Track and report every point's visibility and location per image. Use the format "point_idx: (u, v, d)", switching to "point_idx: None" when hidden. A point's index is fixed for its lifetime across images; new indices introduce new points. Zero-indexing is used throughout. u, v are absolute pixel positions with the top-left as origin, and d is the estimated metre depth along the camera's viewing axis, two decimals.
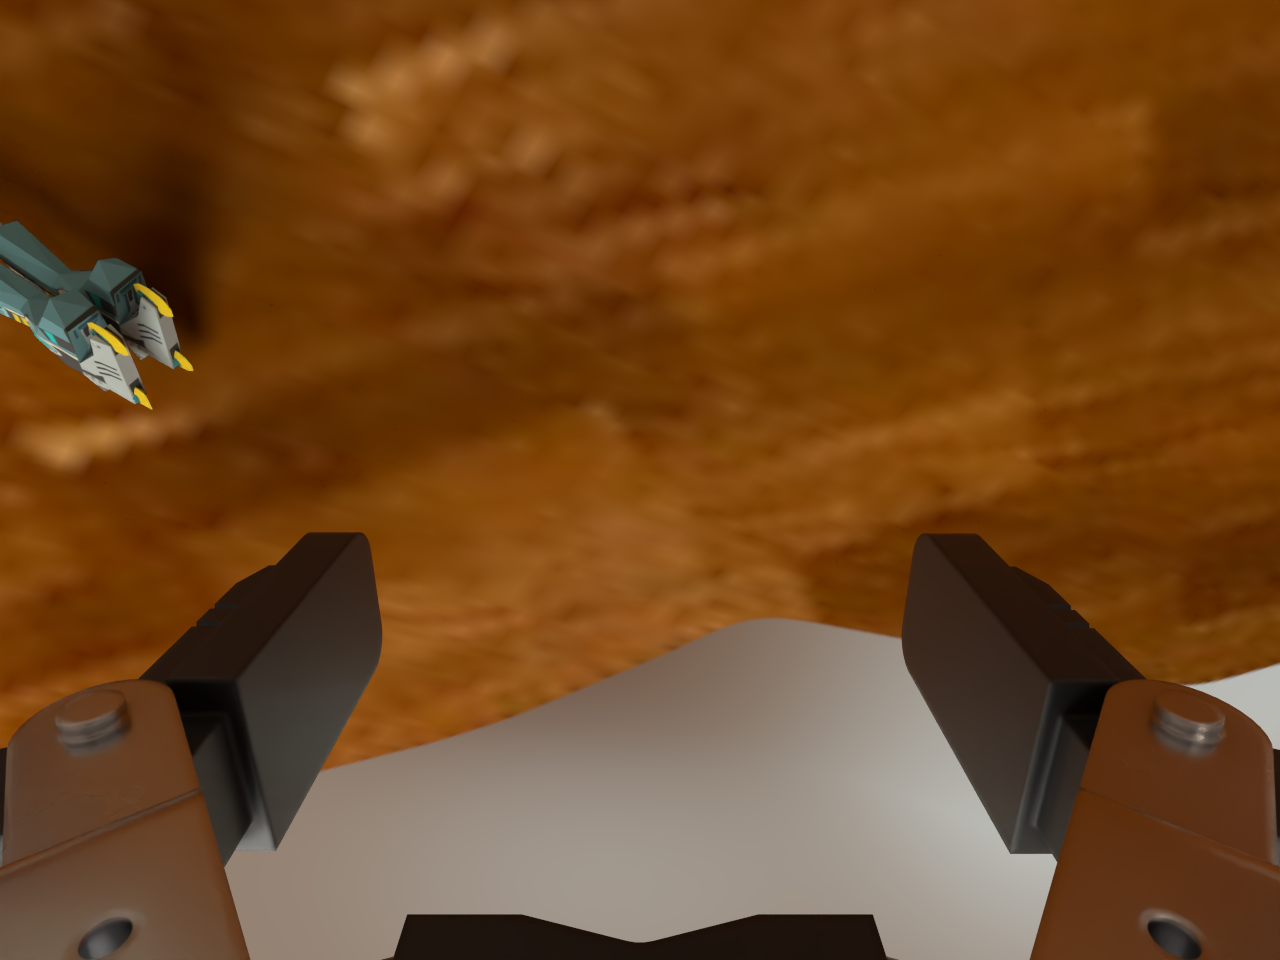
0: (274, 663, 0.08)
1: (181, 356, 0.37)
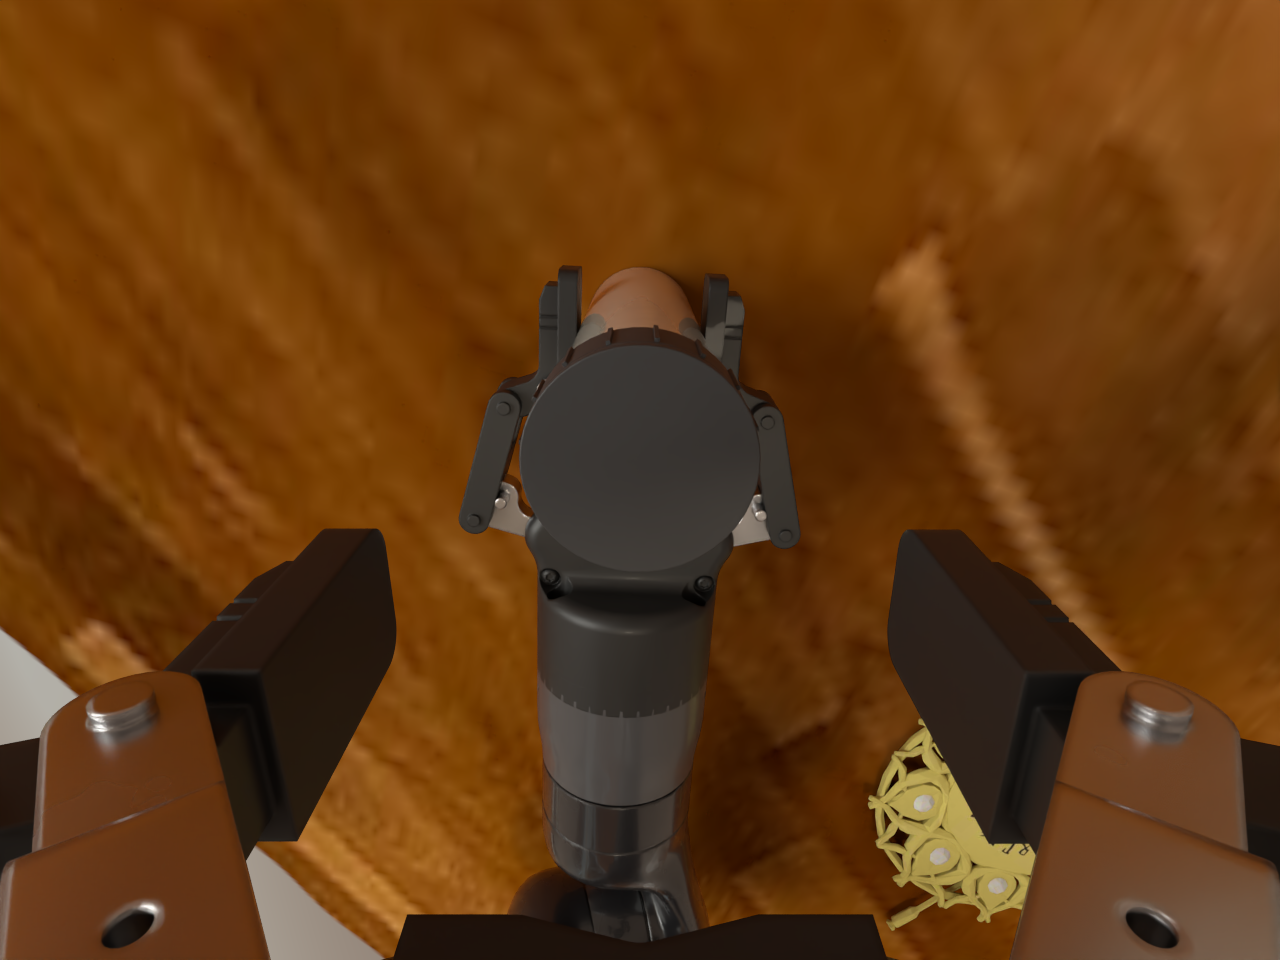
0: (296, 656, 0.08)
1: None
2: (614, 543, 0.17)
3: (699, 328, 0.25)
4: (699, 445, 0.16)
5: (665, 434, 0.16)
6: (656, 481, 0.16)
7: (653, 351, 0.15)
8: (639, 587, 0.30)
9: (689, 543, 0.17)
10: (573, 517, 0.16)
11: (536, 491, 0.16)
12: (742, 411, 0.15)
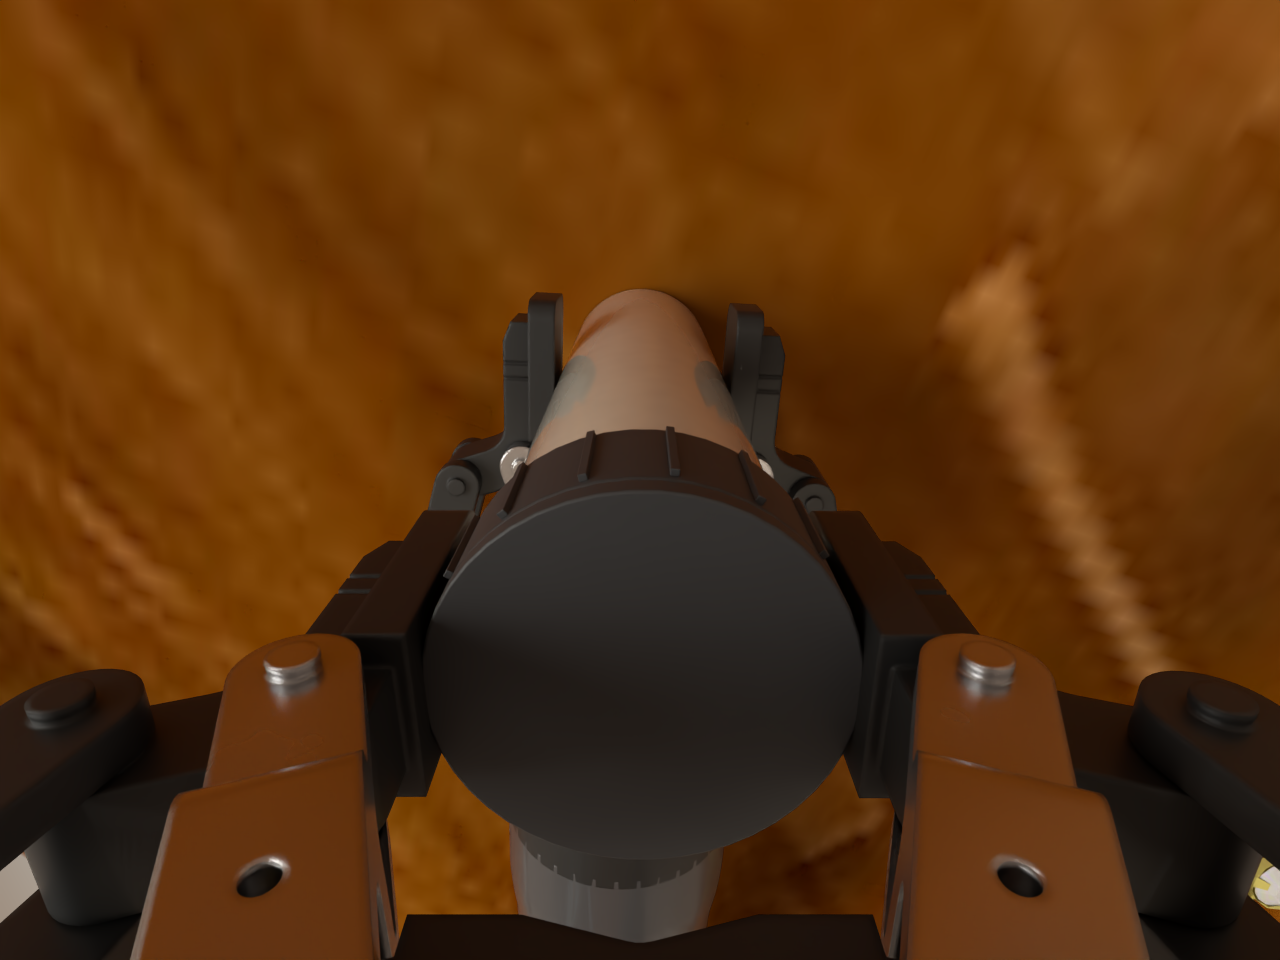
0: (425, 624, 0.09)
1: None
2: (597, 817, 0.09)
3: (725, 386, 0.17)
4: (752, 662, 0.09)
5: (690, 643, 0.08)
6: (672, 722, 0.09)
7: (669, 502, 0.08)
8: None
9: (730, 817, 0.09)
10: (523, 777, 0.09)
11: (454, 737, 0.09)
12: (835, 606, 0.08)
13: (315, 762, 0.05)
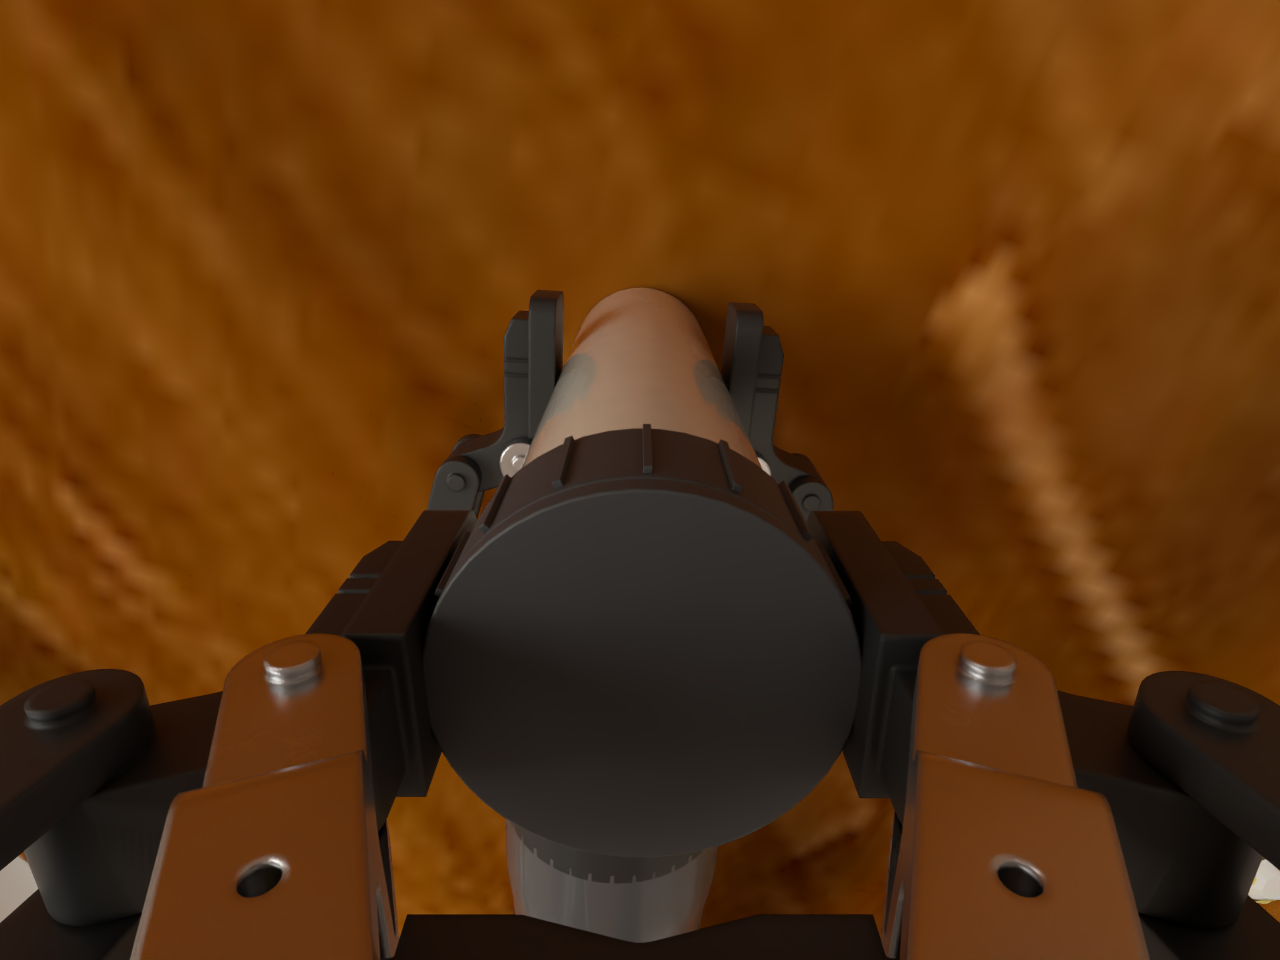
0: (425, 624, 0.09)
1: None
2: (774, 765, 0.09)
3: (724, 384, 0.18)
4: (634, 594, 0.08)
5: (595, 642, 0.08)
6: (682, 676, 0.09)
7: (439, 624, 0.08)
8: None
9: (823, 654, 0.09)
10: (702, 808, 0.09)
11: (637, 844, 0.10)
12: (588, 508, 0.08)
13: (315, 762, 0.05)
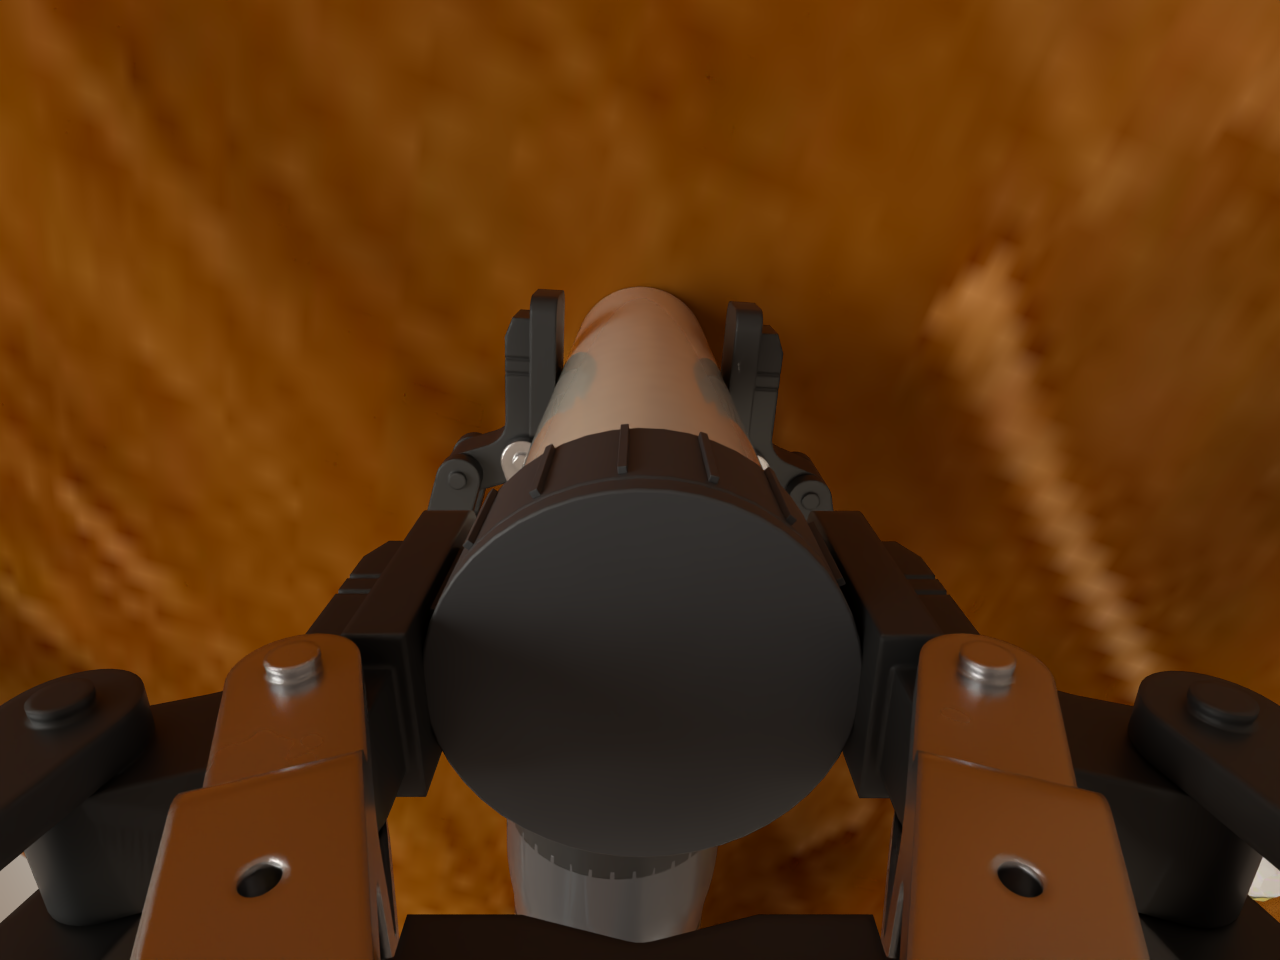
0: (425, 624, 0.09)
1: None
2: (775, 599, 0.08)
3: (724, 383, 0.18)
4: (529, 673, 0.09)
5: (571, 714, 0.09)
6: (633, 657, 0.09)
7: (519, 818, 0.09)
8: None
9: (647, 526, 0.08)
10: (805, 676, 0.09)
11: (826, 742, 0.09)
12: (432, 687, 0.09)
13: (315, 762, 0.05)
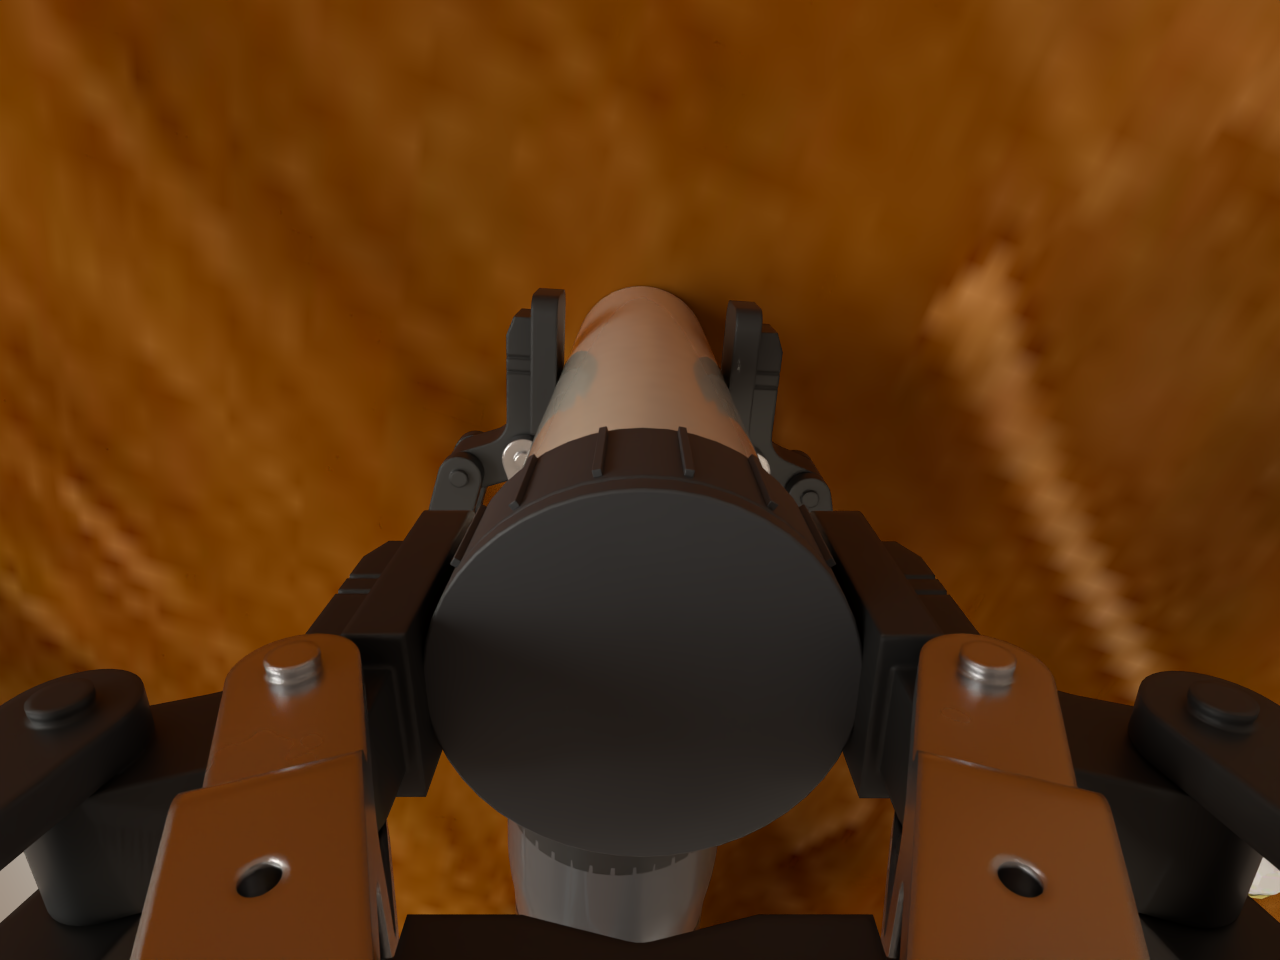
0: (425, 624, 0.09)
1: None
2: (569, 558, 0.08)
3: (724, 381, 0.18)
4: (590, 772, 0.09)
5: (648, 753, 0.09)
6: (598, 690, 0.09)
7: (754, 825, 0.09)
8: None
9: (463, 645, 0.09)
10: (670, 549, 0.08)
11: (762, 545, 0.08)
12: (581, 844, 0.10)
13: (315, 762, 0.05)
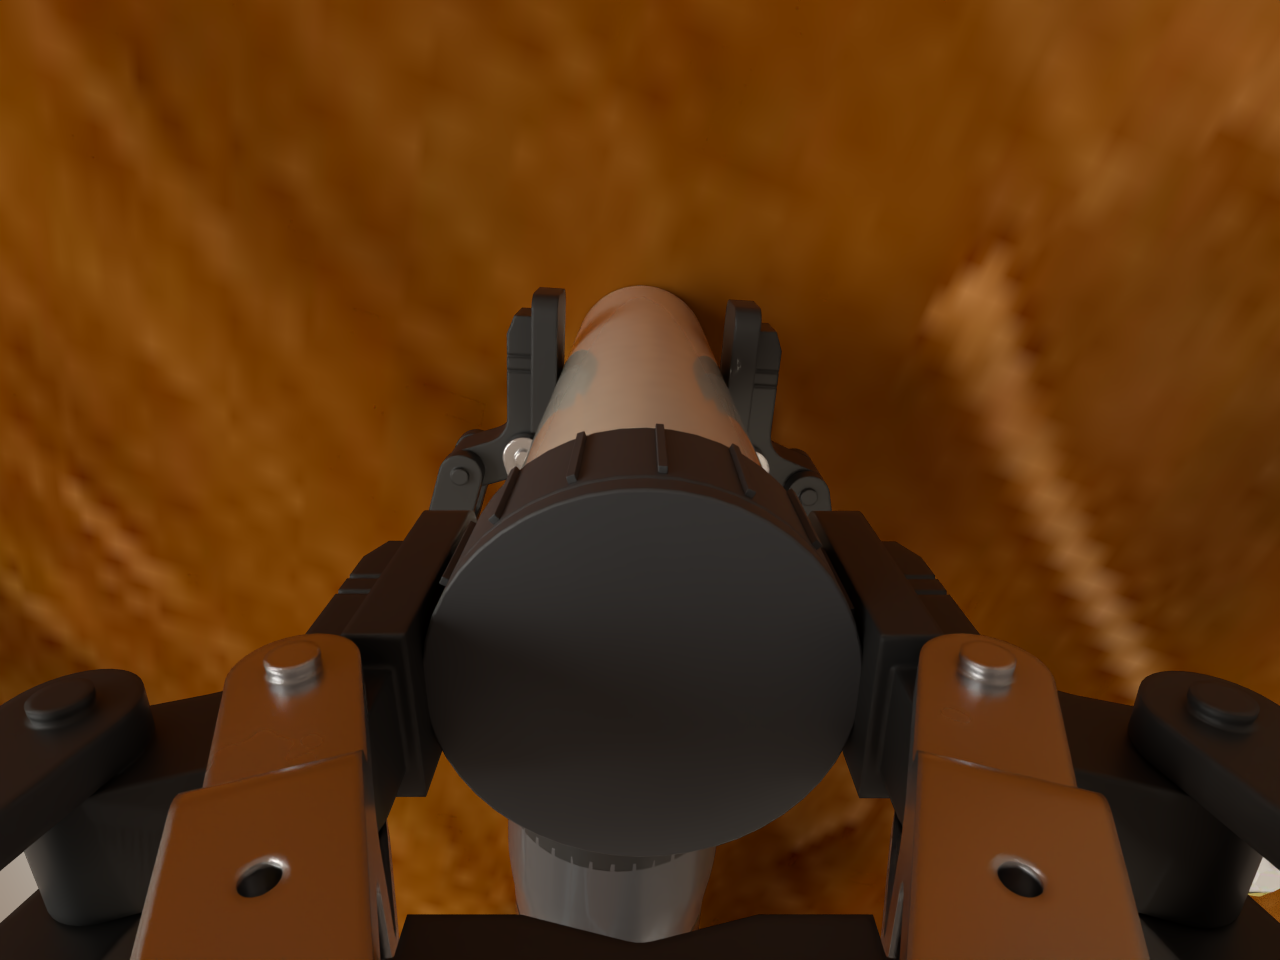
0: (425, 624, 0.09)
1: None
2: (480, 712, 0.09)
3: (723, 380, 0.18)
4: (720, 757, 0.09)
5: (716, 706, 0.09)
6: (626, 727, 0.09)
7: (848, 634, 0.08)
8: None
9: (547, 810, 0.09)
10: (490, 635, 0.08)
11: (504, 558, 0.08)
12: (804, 788, 0.09)
13: (315, 762, 0.05)
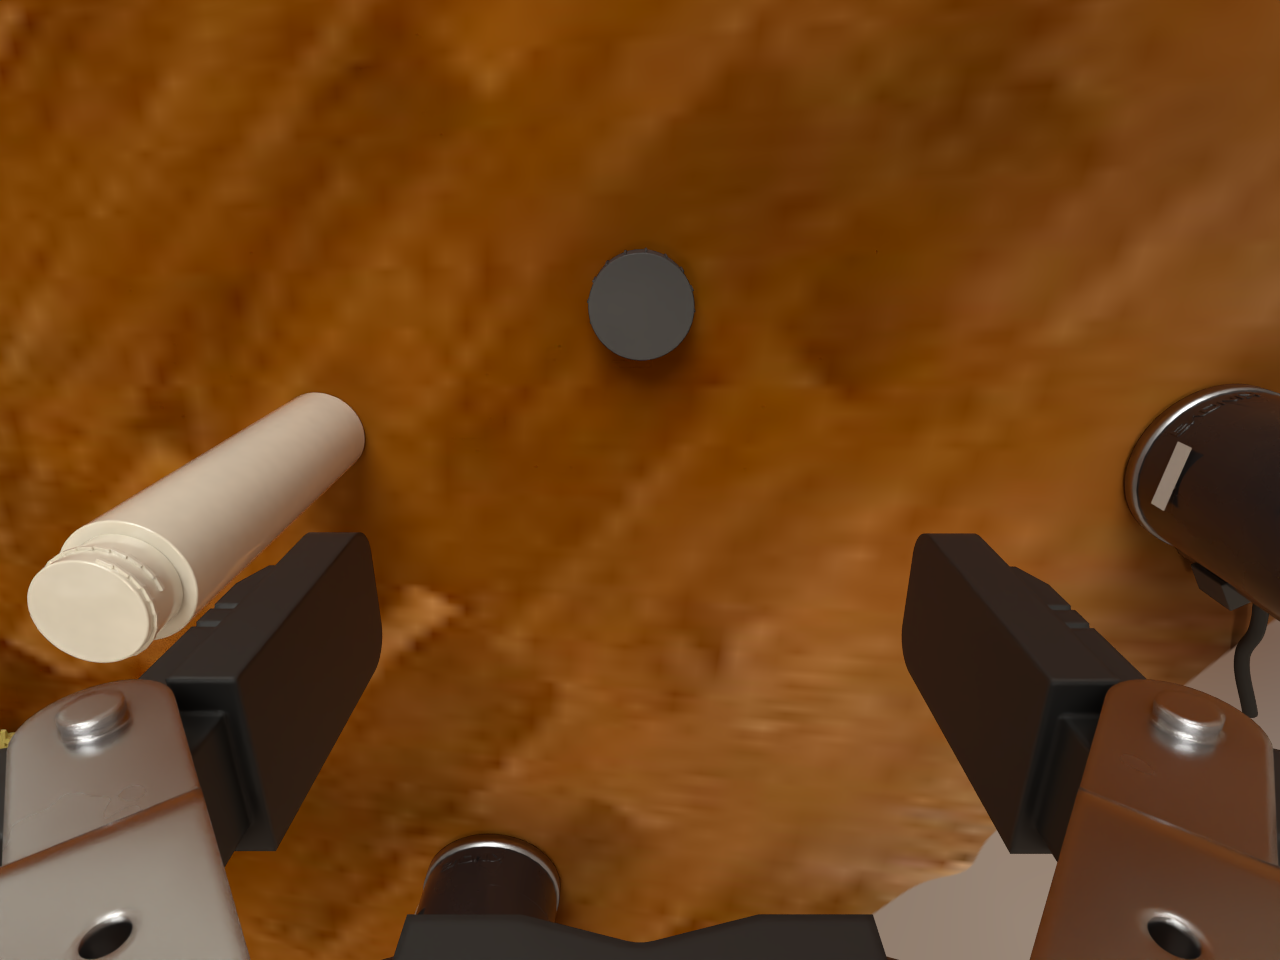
0: (274, 663, 0.08)
1: None
2: (602, 313, 0.36)
3: (282, 532, 0.33)
4: (660, 327, 0.37)
5: (659, 312, 0.36)
6: (637, 318, 0.36)
7: (689, 291, 0.36)
8: None
9: (617, 344, 0.37)
10: (605, 291, 0.36)
11: (610, 270, 0.36)
12: (681, 336, 0.37)
13: (147, 809, 0.05)
